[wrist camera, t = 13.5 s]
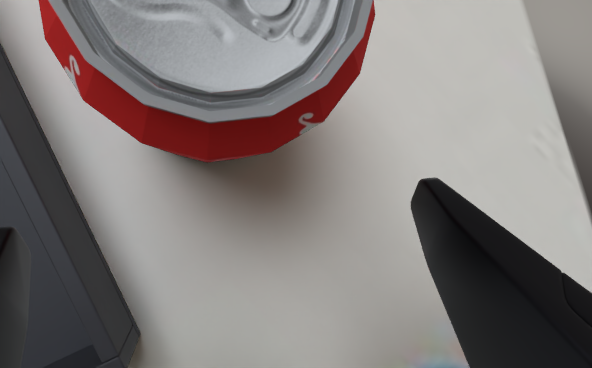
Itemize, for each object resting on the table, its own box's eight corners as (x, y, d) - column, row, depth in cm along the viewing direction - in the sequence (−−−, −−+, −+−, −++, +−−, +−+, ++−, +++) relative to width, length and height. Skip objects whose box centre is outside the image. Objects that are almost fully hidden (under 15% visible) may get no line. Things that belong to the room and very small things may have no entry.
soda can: (104, 119, 18) (-98, 31, 6) (175, -19, 18) (114, -362, 6) (246, 187, 19) (310, 225, 7) (310, 56, 19) (471, -112, 8)
